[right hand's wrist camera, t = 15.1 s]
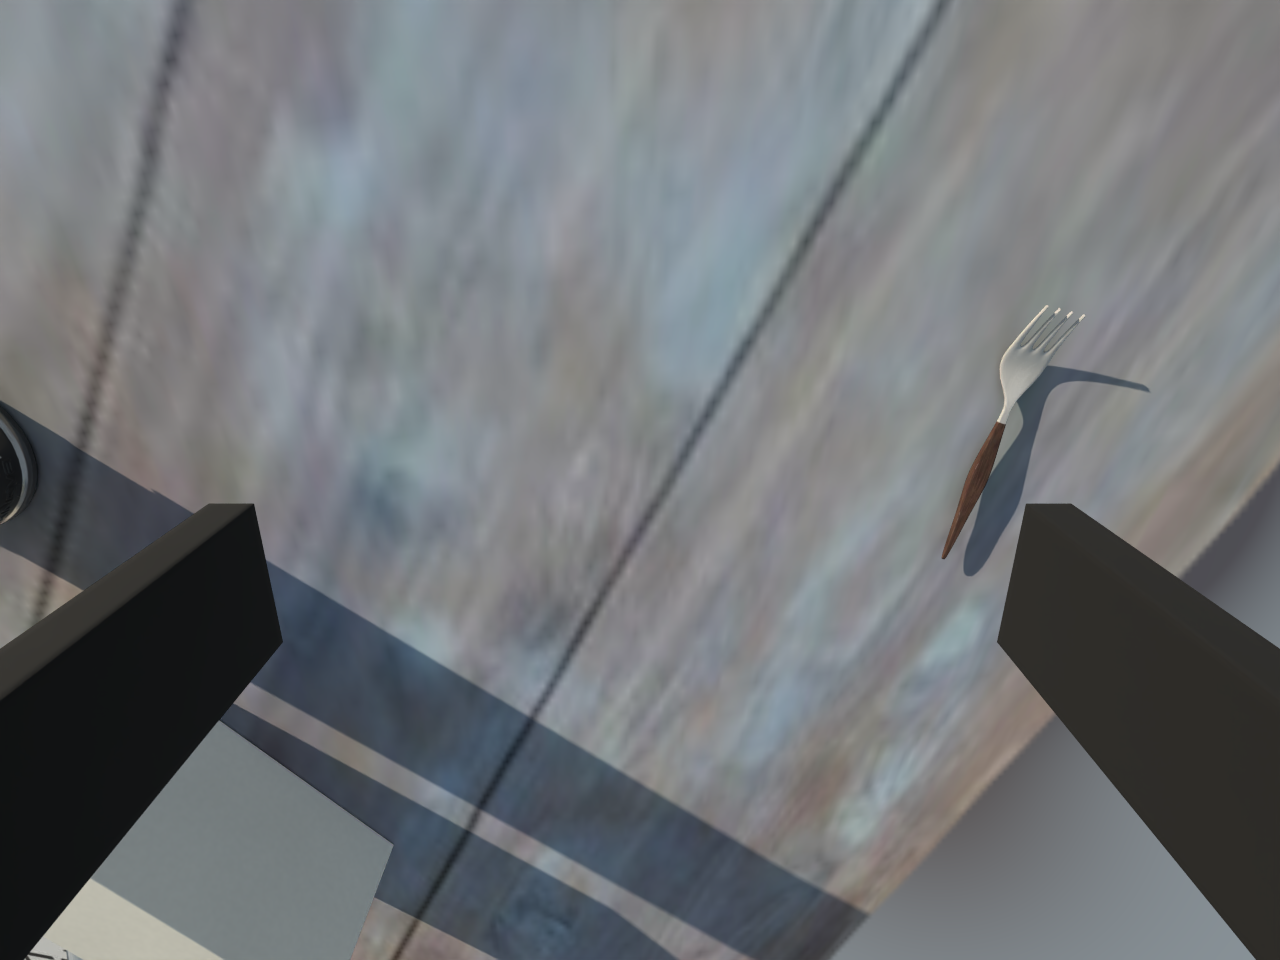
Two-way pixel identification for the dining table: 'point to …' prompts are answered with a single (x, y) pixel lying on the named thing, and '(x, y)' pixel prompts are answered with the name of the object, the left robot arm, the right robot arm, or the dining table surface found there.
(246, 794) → the box
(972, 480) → the fork
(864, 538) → the dining table surface
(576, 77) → the dining table surface
